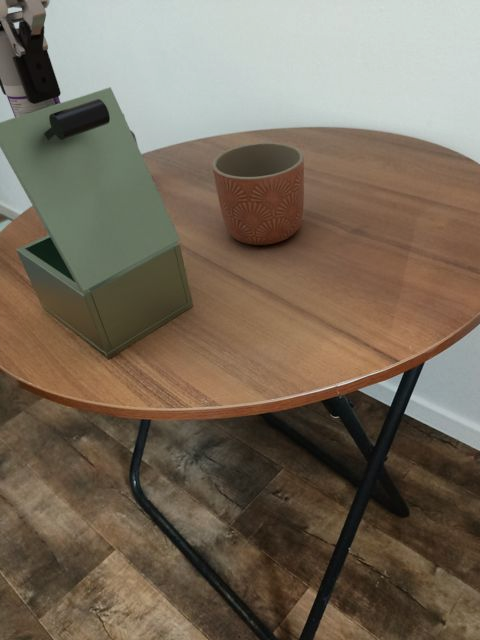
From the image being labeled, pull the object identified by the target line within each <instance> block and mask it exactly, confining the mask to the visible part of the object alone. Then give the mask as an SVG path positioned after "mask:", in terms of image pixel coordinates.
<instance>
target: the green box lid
mask: <svg viewBox="0 0 480 640" xmlns="http://www.w3.org/2000/svg"><path fill="white" fill-rule="evenodd" d="M123 114H124V113H123V111H122V109H121V107H120V105H119V102H118V100H117V98H116V96H115V94H114V91H113V90H112V87H106V88H102V89H100V90H97V91H93V92H91V93H87V94H85V95H81V96H78V97H75V98H71V99H69V100H68V99H67V100H66V101H61V102H60V103H59V104H56V105H53V106H50V107H47V108H43V109H40V110H37V111H34V112H31V113H28V114H25V115H22V116H18V117H15V116H14V117H13V118H10V119H5V120H3V121H0V149H1V152H2V153H3V155H4V157H5V159H6V161H7V162H8V164H9V166H10V167H11V170H12V171H13V173H14V175H15V176H16V178H17V180H18V182H19V183H20V186H21V187H22V189H23V191H24V192H25V194H26V196H27V199H29V201H30V203H31V205H32V207H33V209H34V211H35V213H36V214H37V216H38V218H39V220H40V222H41V223H42V225H43V227H44V229H45V230H46V233H47V235H48V234H49V236H50V237H51V239H52V241H53V243H54V245H55V246H56V248H57V250H58V252H59V253H60V255H61V257H62V259H63V261H64V262H65V264H66V266H67V268H68V270H69V271H70V273H71V275H72V277H73V279H74V280H75V282H76V284H77V286H78V288H79V289H80V291H81V292H84V291H86V290H88V289H90V288H92V287H94V286H96V285H97V284H99V283H101V282H103V281H105V280H107V279H109V278H111V277H112V276H114V275H116V274H118V273H120V272H122V271H124V270H125V269H127V268H129V267H131V266H133V265H135V264H137V263H138V262H140V261H142V260H144V259H146V258H148V257H150V256H152V255H153V254H155V253H157V252H159V251H161V250H163V249H165V248H166V247H168V246H170V245H172V244H174V243H176V242H177V243H179V242H180V241H181V238H180V236H179V233H178V231H177V229H176V227H175V224H174V223H173V220H172V218H171V216H170V214H169V211H168V209H167V207H166V205H165V203H164V201H163V198H162V196H161V195H160V192H159V190H158V188H157V185H156V183H155V181H154V179H153V176H152V174H151V172H150V170H149V168H148V166H147V163H146V161H145V159H144V157H143V155H142V152H141V150H140V148H139V145H138V143H137V144H136V142H135V139H134V137H133V135H132V133H131V131H132V130H131V129H130V126H129V125H128V121H127V120H126V117H125V114H124V115H123ZM124 117H125V118H124ZM130 130H131V131H130ZM137 145H138V146H137Z"/></svg>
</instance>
